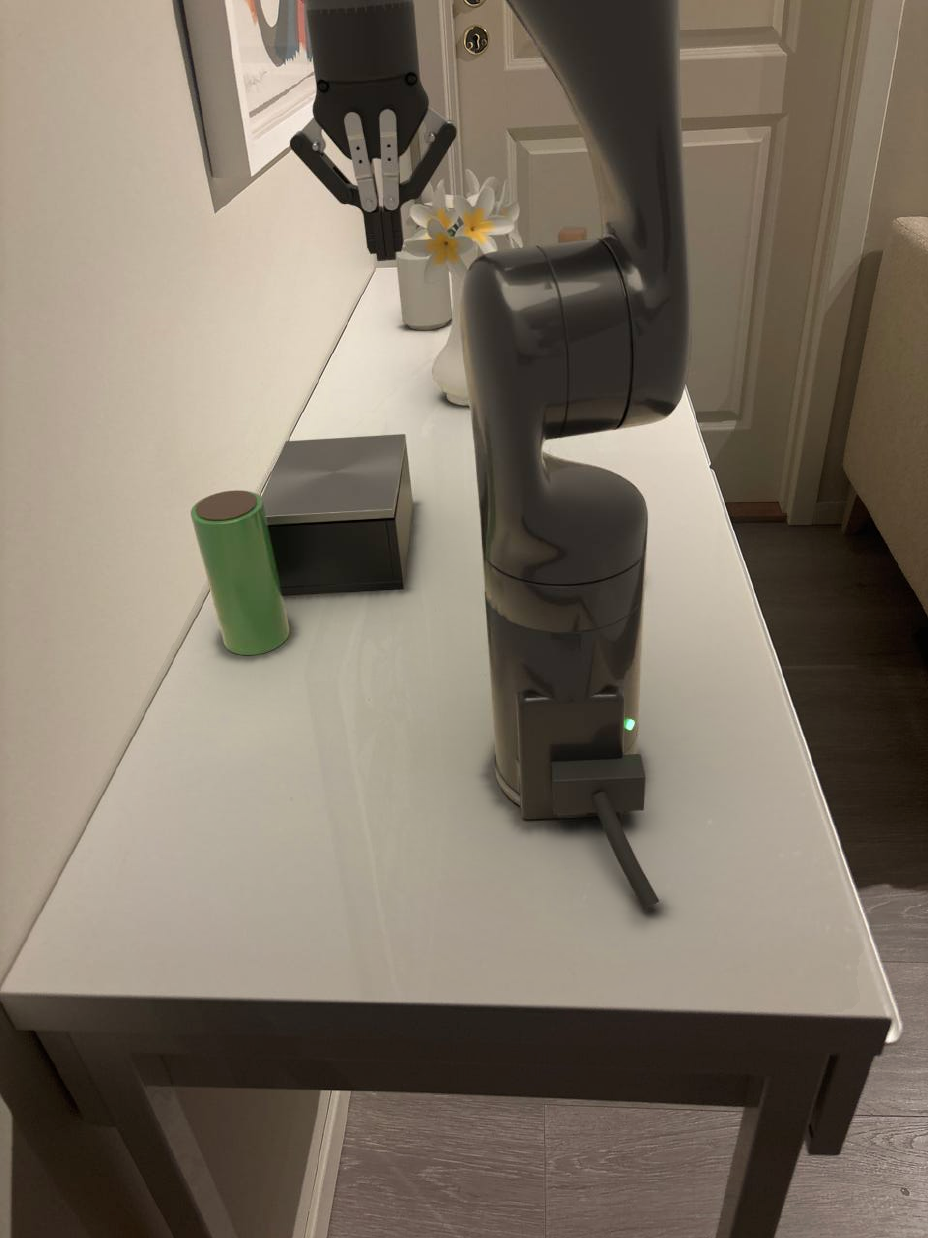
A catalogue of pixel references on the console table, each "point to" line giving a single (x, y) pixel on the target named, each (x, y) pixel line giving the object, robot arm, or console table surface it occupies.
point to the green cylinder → (241, 571)
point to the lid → (335, 480)
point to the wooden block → (572, 234)
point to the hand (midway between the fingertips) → (387, 257)
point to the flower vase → (459, 255)
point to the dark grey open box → (346, 550)
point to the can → (422, 293)
